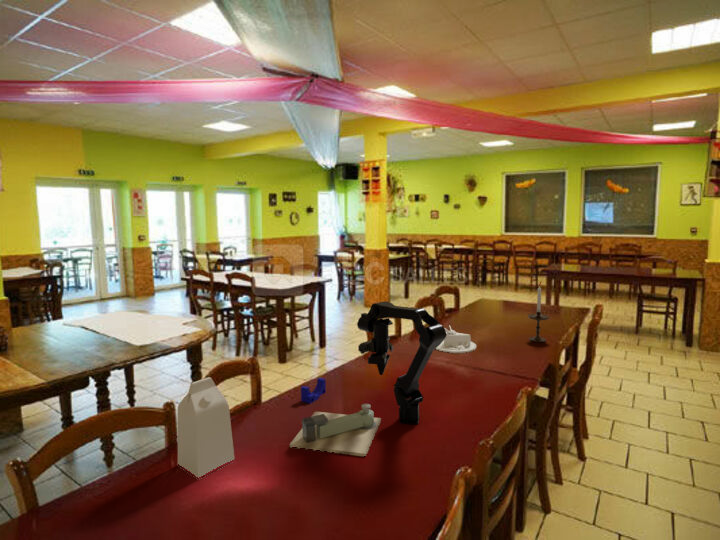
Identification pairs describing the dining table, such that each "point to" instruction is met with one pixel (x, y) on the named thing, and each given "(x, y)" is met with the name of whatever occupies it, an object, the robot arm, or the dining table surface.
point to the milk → (204, 429)
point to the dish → (456, 342)
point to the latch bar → (347, 422)
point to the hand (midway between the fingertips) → (381, 374)
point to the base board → (340, 439)
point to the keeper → (312, 426)
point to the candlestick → (538, 318)
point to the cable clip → (314, 395)
